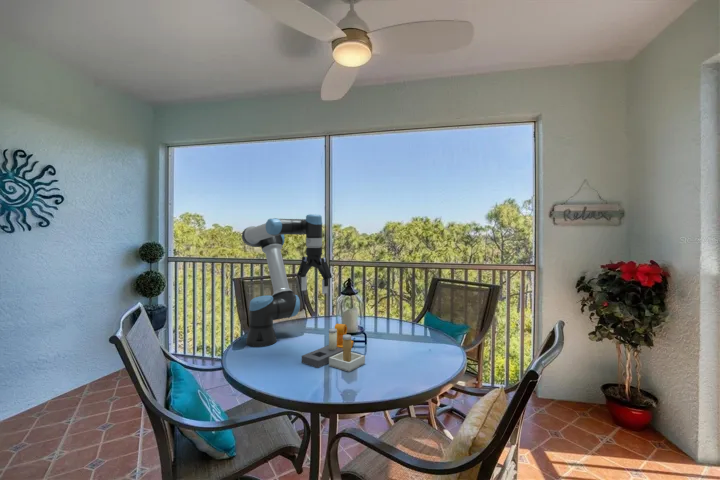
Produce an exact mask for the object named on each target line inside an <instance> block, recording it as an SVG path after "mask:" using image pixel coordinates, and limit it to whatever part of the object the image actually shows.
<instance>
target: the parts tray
mask: <svg viewBox="0 0 720 480" xmlns="http://www.w3.org/2000/svg"><path fill="white" fill-rule="evenodd" d="M365 364H366V355H362V354H359V353H356V352H352V351H351V361H350V362H347V361H343V352H341V353H338V354H336V355H334V356H331V357H329V363H328V366H329V367H332V368H336V369H337V370H342V371H344V372H349V373H350V372H352V371H353V370H356V369H357V368H360V367H361V366H363V365H365Z"/></svg>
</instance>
